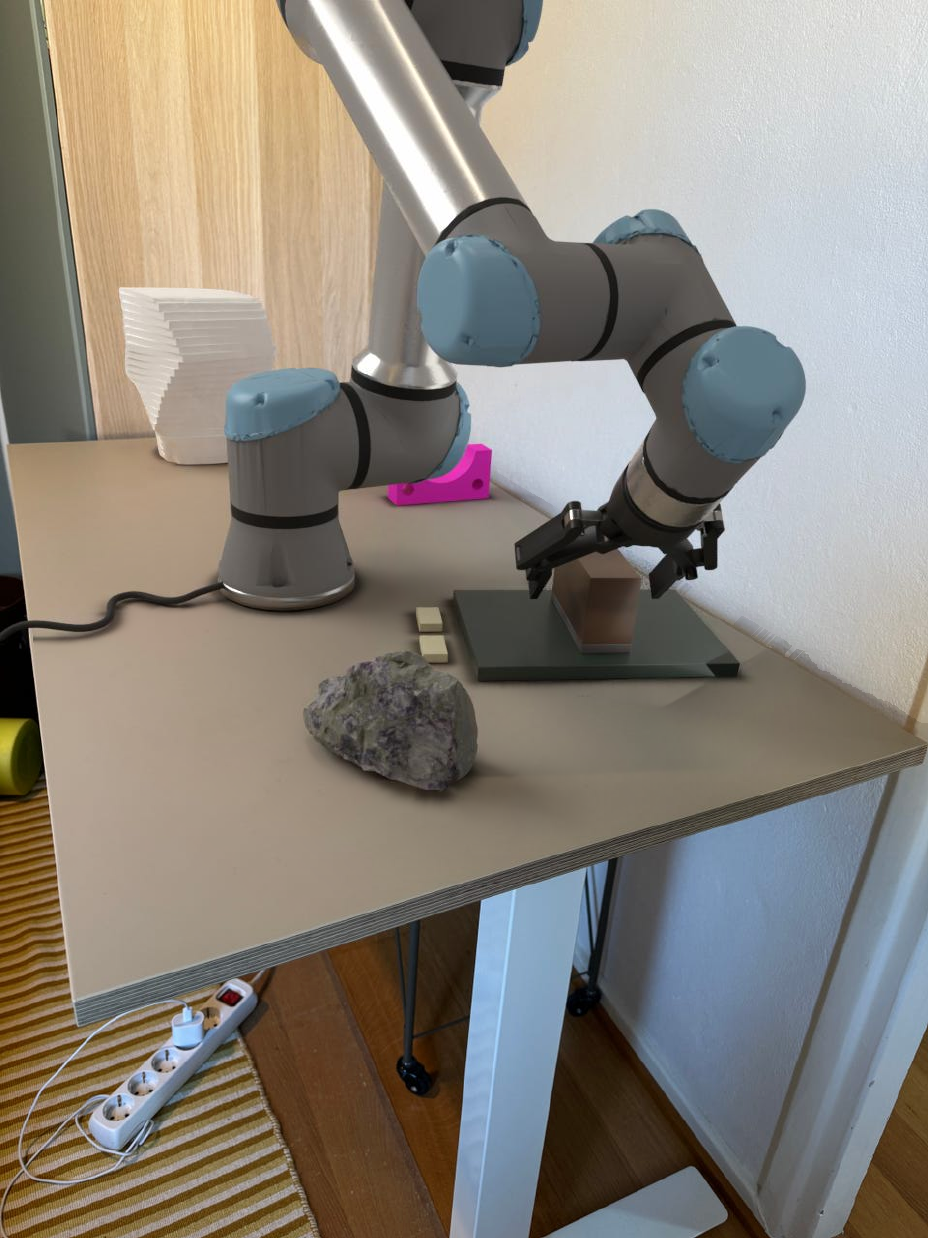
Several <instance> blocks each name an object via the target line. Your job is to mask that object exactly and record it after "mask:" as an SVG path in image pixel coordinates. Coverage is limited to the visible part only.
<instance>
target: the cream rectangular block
mask: <svg viewBox="0 0 928 1238" xmlns="http://www.w3.org/2000/svg"><path fill="white" fill-rule="evenodd" d="M415 609H416V610H415V616H416V621H417V627H418V631H419V633H421V632H422V633H435V632H436V633H441V632H443V619H442V616H441V612H440V609H439V607H438V606H436V607H435V606H434V607H427V606H426V607H425V606H423V607H420V606H419V607H416V608H415Z"/></svg>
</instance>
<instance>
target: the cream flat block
mask: <svg viewBox="0 0 928 1238" xmlns="http://www.w3.org/2000/svg"><path fill="white" fill-rule="evenodd" d="M418 644H419V648H420V649H419V650H420V655H422V656H424V658H425V659H426V660H427V662H428V663H429V664H431V663H448V662H449V652H448V649H447V644H446V641H445V637H444V635H441V634H440V635H419V643H418Z"/></svg>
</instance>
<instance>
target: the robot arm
mask: <svg viewBox="0 0 928 1238" xmlns="http://www.w3.org/2000/svg"><path fill="white" fill-rule="evenodd" d="M275 2H276V5H277V8H278V11H279V13H280V15H281V18H282V21H283V22H284V24H285V26H286V28H287V30H288V31H289V33H290V35H291V38H292V39H293V41H294V43H295V44H296V46H297V47H298V48H299V50H300V51H301V52H302V53H303V54H304V55H305V56H306V57H307V58H308V59H309V60H311V61H313V62H315V63H317V64H318V65H320V66H322V67H323V69H324V70H325V73H326V74H327V76H328V78H329V80H330V82H331V83H332V86H333V88H334V89H335V92H336V93H337V95H338V97H339V98H340V100H341V102H342V105H343V106H344V108H345V109H346V112H347V113H348V115H349V117H350V119H351V120H352V123H353V125H354V127H355V128H356V131H357V132H358V134H359V135H360V138H361V139H362V141H363V143H364V145H365V147H366V149H367V150H368V152H369V154H370V156H371V158H372V160H373V162H374V164H375V165H376V167H377V169H378V171H379V173H380V175H381V177H382V185H381V186H382V188H381V199H380V209H379V218H378V231H377V241H376V251H375V263H374V273H373V283H372V293H371V304H370V316H369V325H368V337H367V344H366V346H365V347H364V348H362V349H361V350H360V351H359V352H357V353H356V354H355V355H354V356H353V357H352V359H351V370H350V378H349V381H343V382H340V381H339V379H338V377H337V375H336V374H335V373H334V372H333V371H331V370H329V369H324V368H318V367H302V368H296V367H290V368H289V367H287V368H280V369H279V368H278V369H274V370H272V371H266V372H262V373H258V374H254V375H251V376H248V377H246V378H243V379H241V380H240V381H238V382H237V383H235V384H234V385H233V386H232V387H231V388H230V389H229V391H228V393H227V396H226V421H225V426H224V433H225V436H226V439H227V454H228V462H227V468H228V486H229V500H230V501H229V502H230V503H229V504H230V523H229V528H228V531H227V535H226V538H225V542H224V546H223V550H222V554H221V559H220V561H219V563H218V568H217V582H216V583H213V584H210V585H207V586H203V587H200V588H197V589H195V590H193V591H190V592H188V593H186V594H183V595H180V596H171V597H170V596H168V597H167V596H160V595H157V594H152V593H148V592H145V591H138V590H131V591H124V592H123V591H122V592H120V593H117V594H115V595H113V596H111V598H110V599H109V600H108V601H107V605H106V614H105V616H104V617H103V618H102V619H99V620H97V621H95V622H91V623H81V624H80V623H79V624H78V623H77V624H75V623H66V622H65V623H64V622H58V621H51V620H41V619H40V620H37V619H35V620H33V619H31V620H24V621H20V622H17V623H13V624H11V625H10V626H8V627H6V628H5V629H3V630H2V631H1V632H0V642H1V641H5V640H7V639H8V638H9V637H10V636H12V635H13V634H15V633H17V632H19V631H22V630H26V629H45V630H46V629H47V630H54V631H61V632H71V633H86V632H94V631H97V630H100V629H102V628H105V627H106V626H108V625H109V624H110V623H111V622H112V621H113V619H114V616H115V609H116V608H115V607H116V605H117V603H120V602H121V601H125V600H128V599H129V600H130V599H140V600H144V601H148V602H152V603H156V604H161V605H178V604H184V603H186V602H189V601H192V600H194V599H197V598H199V597H200V596H203V595H207V594H209V593H213V592H216V591H220V593H221V594H222V595H223V596H224V597H225V598H227V599H228V600H230V601H232V602H235V603H237V604H239V605H243V606H247V607H250V608H254V609H260V610H270V611H297V610H298V611H299V610H308V609H313V608H318V607H323V606H326V605H331V604H332V603H335V602H338V601H340V600H341V599H343V598H345V597H346V596H348V595H349V594H350V593H351V592H352V591H353V589H354V588H355V583H356V573H355V572H356V570H355V565H354V564H355V563H354V560H353V558H352V556H351V553H350V549H349V546H348V543H347V540H346V537H345V534H344V532H343V531H344V530H343V529H342V525H341V522H340V518H339V517H340V515H339V514H340V512H339V502H340V501H339V493H340V492H342V491H351V490H361V489H367V488H368V489H369V488H377V487H383V486H385V487H386V486H388V485H394V484H402V483H409V484H416V483H420V482H423V481H425V480H429V479H434V478H439V477H442V476H444V475H446V474H447V473H449V472H451V471H452V470H453V469H454V468H455V467H456V466H457V465H458V463H459V462H460V460H461V459H462V457H463V455H464V453H465V450H466V448H467V445H468V444H469V441H470V437H471V429H472V414H471V413H470V412H468V409H469V407H470V401H469V398H468V395H467V392H466V391H465V389H464V388H463V386H462V385H461V384H460V383H459V382H458V372H457V370H456V369H455V366H453V364H454V365H462V366H477V367H478V366H479V367H493V368H507V367H513V366H516V365H530V364H532V365H533V364H546V363H563V362H564V363H565V362H572V363H573V362H597V361H599V362H601V361H617V360H618V361H619V360H624V361H626V362H627V364H628V366H629V368H630V370H631V372H632V374H633V375H634V377H635V378H634V379H636V381H637V383H638V385H639V388H640V390H641V392H642V393H643V394H644V396H645V397H646V399H647V401H648V403H649V405H650V407H651V409H652V411H653V414H654V416H655V420H654V421H653V423H652V425H651V426H650V428H649V431H648V432H647V434H646V436H644V439H643V440H642V442H641V443H640V444H639V447H638V448H637V450H636V451H635V453H634V454H633V455H632V458H631V460H630V461H629V462H628V463H627V464H626V466H625V468H624V469H623V471H622V472H621V474H620V476H619V477H618V478H617V480H616V482H615V484H614V486H613V488H612V491H611V494H610V496H609V499H608V501H607V502H606V503H603V504H601V505H600V506H598V508H597V509H596V510H593V509H592V510H589V509H586V510H585V509H582V503H581V501H579V500H572V501H569V502H567V503H566V504H565V506H564V507H563V509H562V511H561V512H560V513H558V514H557V515H555V516H554V517H552V518H551V519H549V520H548V521H546V522H545V523H543V524H541V525H540V526H539V527H537V528H535V529H534V530H533V531H531V532H529V533H528V534H526V535H525V536H524V537H521V538H520V539H519V540H517V541H516V542H514V559H515V568H516V570H518V571H525V580H526V582H527V583H528V590H529V594H530V599H538V597H539V595H540V594H541V592H542V591H543V590H545V588H546V586H547V584H548V583H549V581H550V580H551V578H552V577H553V570H554V568H556V567H558V566H561V565H563V564H566V563H568V562H571V561H573V560H576V559H579V558H581V557H584V556H586V555H589V554H591V553H594V552H598V553H600V554H605V553H608V552H610V551H613V550H615V549H618V550H619V549H620V548H630V547H633V546H637V547H650V548H658V550H659V551H660V552H661V553H662V554H663V555H664V556H663V558H661V559H660V561H659V562H658V563H657V564H656V565H655V567H654V568H653V569H651V571H650V572H649V573H648V581H649V590H651V597H652V599H659V598H660V597H661V596H662V595H663V594H664V593H665V592H666V591H667V590H670V588H671V587H672V586H673V585H674V584H676V582H678V581H681V580H683V579H685V580H686V581H694V580H697V579H698V578H699V575H698V574H699V573H698V569H697V568H700V567H703V568H704V570H705V571H715V570H716V569H718V566H719V565H718V563H719V562H718V561H719V560H718V559H719V558H718V555H719V553H718V551H719V550H718V547H719V546H718V543H719V541H718V539H719V538H720V537H721V536H722V534H723V533H724V532H725V531H726V528H725V522H724V517H723V510H722V505H721V502H723V500H724V499H725V498H726V496H728V494H730V492H731V491H732V490H733V488H734V487H735V485H736V484H738V482H739V481H740V480H741V479H742V478H743V477H744V476H746V474H747V473H748V472H749V471H750V470H751V469H752V468H753V466H754V465H755V464H756V463H757V462H758V461H759V460H760V459H761V458H762V457H764V456H766V455H767V453H768V452H769V451H770V450H773V448H775V446H776V445H777V443H778V442H779V441H780V439H781V438H782V436H783V435H784V432H785V431H786V430H787V428H788V427H789V425H790V424H791V422H792V421H793V420H794V419H795V417H796V416H797V414H799V412H800V410H801V408H802V405H803V402H804V400H805V396H806V391H807V380H806V375H805V370H804V367H803V364H802V362H801V360H800V358H799V356H798V355H797V353H796V352H795V351H794V349H793V348H792V347H791V346H786V345H784V344H783V343H781V342H780V341H779V340H778V339H777V335H775V334H774V333H772V332H770V331H768V330H766V329H763V328H761V327H755V326H750V325H737V323H736V321H735V320H734V318H733V316H732V314H731V312H730V310H729V308H728V305H726V302H725V301H724V299H723V296H722V295H721V293H720V291H719V289H718V288H717V285H716V284H715V281H714V279H713V277H712V275H711V274H710V271H709V270H708V268H707V266H706V264H705V262H704V259H703V257H702V254H701V253H700V251H699V249H698V246H697V245H695V244H693V243H692V240H691V239H690V238H689V236H688V235H687V234H686V232H685V230H684V229H683V227H682V225H681V224H680V222H679V221H678V220H677V219H676V217H675V216H673V215H672V214H671V213H669V212H667V211H664V210H661V209H656V208H646V209H642V210H640V211H638V212H637V213H636V214H635V215H634V216H631V215H628V214H627V215H624V216H622V217H619V218H618V219H616V220H615V221H613V222H612V223H611V224H609V225H608V226H607V227H606V228H605V229H603V230H602V231H601V232H600V233H599V234H598V235H597V236H596V237H595V239H594V240H593V241H592V242H577V241H576V242H575V241H557V240H553V239H551V238H550V237H549V236H547V233H546V232H545V230H544V229H543V227H542V225H541V224H540V222H539V220H538V219H537V217H536V216H535V215H534V213H533V212H532V210H531V208H530V207H529V205H528V203H527V201H526V200H525V198H524V197H523V195H522V193H521V192H520V190H519V188H518V186H517V185H516V183H515V182H514V180H513V178H512V176H511V175H510V174H509V172H508V170H507V169H506V166H505V165H504V164H503V162H502V160H501V158H500V157H499V156H498V154H497V152H496V150H495V149H494V147H493V145H492V144H491V142H490V140H489V139H488V137H487V136H486V133H485V132H484V130H483V129H482V127H481V121H482V114H483V113H482V112H483V108H484V107H485V105H486V104H487V103H488V102H489V101H490V100H491V99H493V98H494V97H495V96H496V95H497V94H498V93H499V92H500V91H502V89H503V84H504V77H505V70H506V67H509V66H511V65H513V64H516V63H517V62H519V61H520V60H521V59H522V58H524V56H525V55H526V54H527V52H528V51H529V48H530V46H529V43H532V42H533V41H534V40H535V38H536V35H537V32H538V30H539V26H540V22H541V18H542V12H543V5H544V0H275ZM695 531H697V532H699V534H700V547H698V548H694V545H693V544H692V542H691V541H690V540H689V538H690V537H691V535H692V534H693V533H694V532H695ZM604 535H605V536H606V537H607V538H608V540H607V541H605V537H604Z"/></svg>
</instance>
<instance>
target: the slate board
mask: <svg viewBox="0 0 928 1238" xmlns="http://www.w3.org/2000/svg"><path fill="white" fill-rule="evenodd" d="M551 594H552V589H543V591H542V592H541V594H540V595H539V597H538V599H530V594H529V589H453V591H452V603H453V606H454V610H455V613H456V616H457V619H458V623H459V626H460V629H461V632H462V636H463V638H464V643H465V645H466V649H467V652H468V656H469V659H470V662H471V665H472V668H473V671H474V674H475V678H476V681H477V682H483V681H485V682H487V681H488V682H490V681H492V682H493V681H539V680H540V681H542V680H595V679H596V680H597V679H598V680H599V679H655V678H656V679H657V678H658V679H659V678H707V677H708V678H709V677H710V678H711V677H712V678H713V677H715V678H716V677H738V675H739V672H740V671H739V670H740V666H741V662H740V661H739V660H738V659H737V658H736V657H735V655H734V654H733V653H732V652H731V651H730V650H729V649H728V648H727V646H726V645H725V644H724V643H723V642H722V641H721V640H720V638H719V637H718V636H717V635H716V634H715V633H714V632H713V630H712V629H711V628H710V627H709V626H708V625H707V624H706V623H705V621H704V620H703V619H702V618H701V617H700V616H699V615H698V613H696V611H695V610H694V609H693V608H692V607H691V606H690V605H689V603H688V602H687V601H686V600H685V599H684V598H683V597H682V596H681V594H680V593H679V592H678V591H677V589H674V588H673V589H670V588H669V589H668V590H667V591H666V592H665V593H664V594H663V595H662V596H661V597H660V598H659V599H652V597H651V589H640V593H639V599H638V605H637V612H636V618H635V624H634V631H633V637H632V643H631V649H630V653H581V652H580V650H579V648H578V647H577V645H576V643H575V641H574V639H573V638H572V636H571V634H570V632H569V630H568V629H567V627H566V625H565V623H564V621H563V619H562V618H561V616H560V614H559V612H558V610H557V609H556V607H555V605H554V603H553V601H552V600H551Z"/></svg>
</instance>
